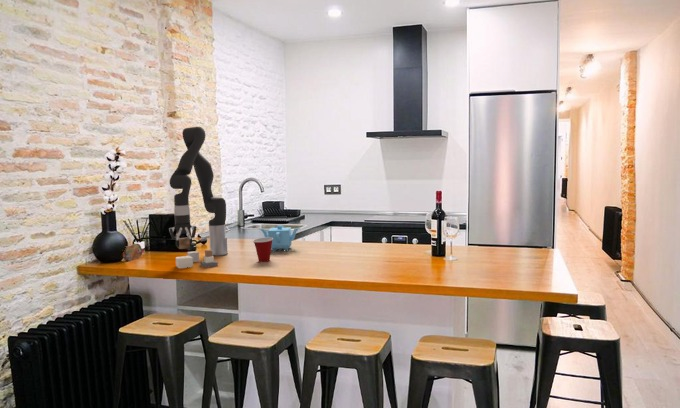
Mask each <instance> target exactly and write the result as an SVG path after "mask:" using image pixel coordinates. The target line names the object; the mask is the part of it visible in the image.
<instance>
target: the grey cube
mask: <svg viewBox="0 0 680 408" xmlns="http://www.w3.org/2000/svg"><path fill="white" fill-rule="evenodd" d="M187 256H191V257H192V258H193V263H197V262H200V252H199V251H197V250H195V251H187Z"/></svg>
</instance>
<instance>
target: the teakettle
mask: <svg viewBox="0 0 680 408" xmlns="http://www.w3.org/2000/svg"><path fill="white" fill-rule="evenodd" d="M300 229H301V227H297V228H294V229H293V230H292V227H291V226H289V227H285V226H284V225H283V224H282V225H281V224H280V225H279V224H278V225H276V227H270V229H268V231H266V229H264V228H259V230H260V231H262V233H263V234H264V235H263V236H264V238H265V237H271V238H273V240H272V246H271V252H276V251H277V250H278V249H279V250H281V249H282V251H283V250H288V251H289V250H290V249H289V248H291V247H292V242H293V241H294V239H295V238H296V235H297V232H298V230H300ZM292 231H293V232H292Z"/></svg>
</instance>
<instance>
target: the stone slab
mask: <svg viewBox="0 0 680 408" xmlns="http://www.w3.org/2000/svg"><path fill="white" fill-rule="evenodd" d="M125 247H126V248H125V250H124V252H123V253H122V258H123V260H124V261H126V262H128V261H130V262H131V261H133V260H137V259H139V258H141V256H142V253H143V252H142V251H143V250H142V246H141V245H140V244H139V243H133V244H130V245H127V246H126V245H125Z"/></svg>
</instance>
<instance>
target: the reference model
mask: <svg viewBox="0 0 680 408" xmlns="http://www.w3.org/2000/svg"><path fill="white" fill-rule="evenodd" d="M214 256H215V255H212V250H210V249H205V250H204V256H203V261H200V266H201V267H202V266H203V267H202V268H204V269H206V268H212V267H213V266H214V267H218V264H219V263H218V261H216V260H215V258H214ZM205 267H206V268H205Z"/></svg>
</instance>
